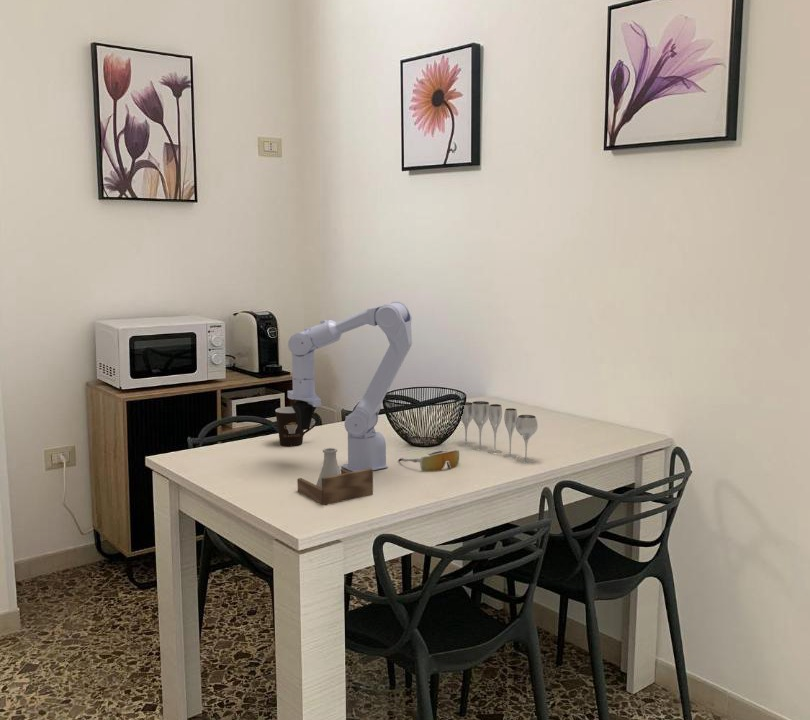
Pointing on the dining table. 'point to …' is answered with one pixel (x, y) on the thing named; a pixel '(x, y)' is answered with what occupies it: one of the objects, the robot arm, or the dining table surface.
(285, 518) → the dining table surface
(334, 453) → the flask
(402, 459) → the sunglasses
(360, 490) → the shelf bay
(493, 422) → the goblet set
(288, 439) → the coffee mug
